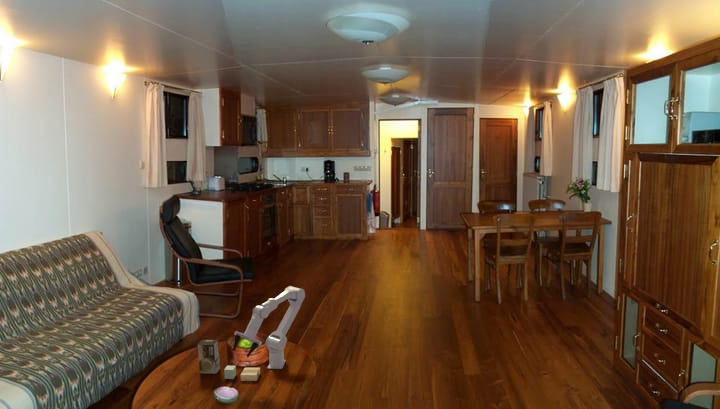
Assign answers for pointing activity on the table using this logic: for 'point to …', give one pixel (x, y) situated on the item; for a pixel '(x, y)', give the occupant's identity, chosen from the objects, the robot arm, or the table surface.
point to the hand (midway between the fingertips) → (240, 354)
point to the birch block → (250, 374)
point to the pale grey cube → (230, 372)
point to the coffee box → (209, 356)
